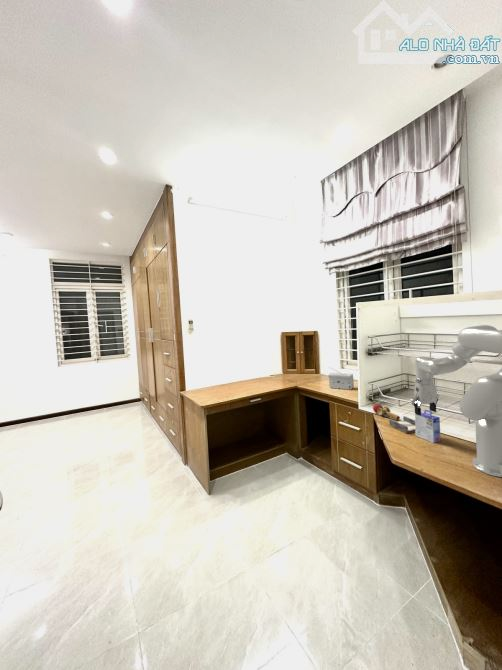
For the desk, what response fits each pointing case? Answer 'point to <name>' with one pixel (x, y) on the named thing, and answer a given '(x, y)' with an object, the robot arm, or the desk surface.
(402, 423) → the jig
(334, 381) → the stereo radio cassette player
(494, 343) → the robot arm
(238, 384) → the desk surface
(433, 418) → the ink cartridge box
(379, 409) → the kendama
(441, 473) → the desk surface
